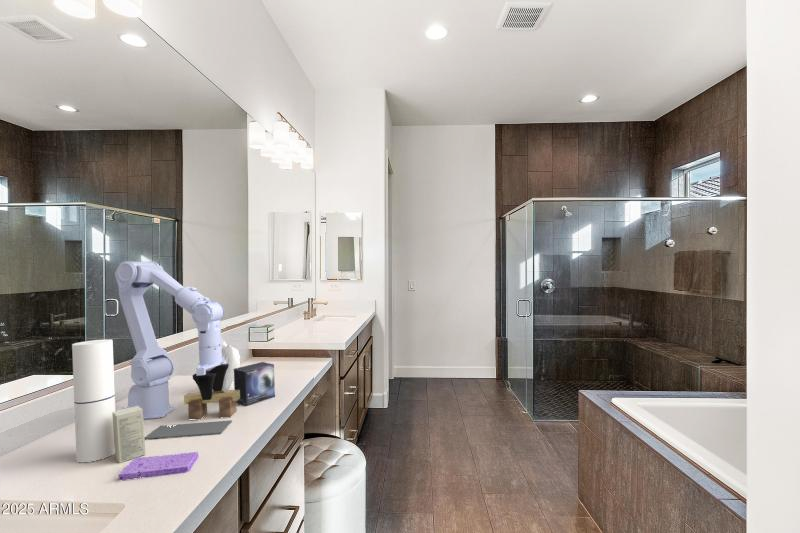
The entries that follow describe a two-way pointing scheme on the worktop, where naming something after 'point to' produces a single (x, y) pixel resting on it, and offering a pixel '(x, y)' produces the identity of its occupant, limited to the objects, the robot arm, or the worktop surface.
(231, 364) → the shell sculpture
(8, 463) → the worktop surface
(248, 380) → the small box
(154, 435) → the mat
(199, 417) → the posts
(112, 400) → the cylindrical container
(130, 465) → the sponges
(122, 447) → the skincare box
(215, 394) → the rail
